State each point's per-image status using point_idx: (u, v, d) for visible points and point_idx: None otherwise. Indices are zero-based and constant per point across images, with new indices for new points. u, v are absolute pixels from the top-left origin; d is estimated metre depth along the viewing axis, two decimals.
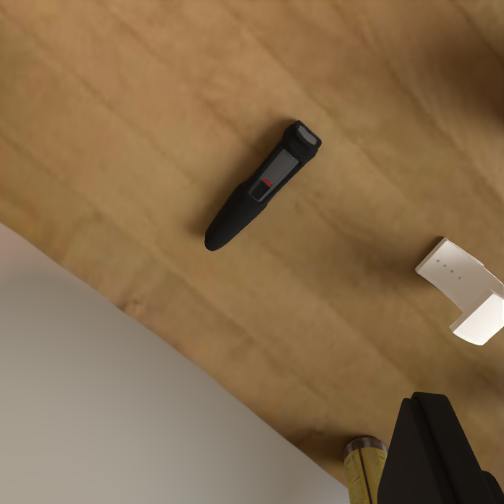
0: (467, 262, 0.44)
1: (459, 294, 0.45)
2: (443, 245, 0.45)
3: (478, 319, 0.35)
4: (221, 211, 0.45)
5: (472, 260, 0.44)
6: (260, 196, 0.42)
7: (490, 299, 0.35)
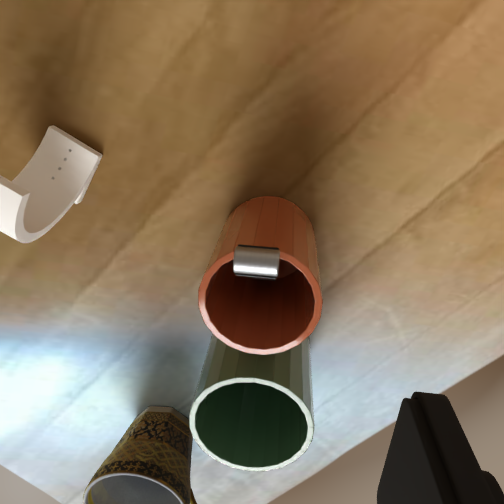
0: (74, 184, 0.36)
1: (30, 181, 0.35)
2: (90, 153, 0.36)
3: None
4: None
5: (78, 189, 0.36)
6: None
7: (13, 194, 0.26)
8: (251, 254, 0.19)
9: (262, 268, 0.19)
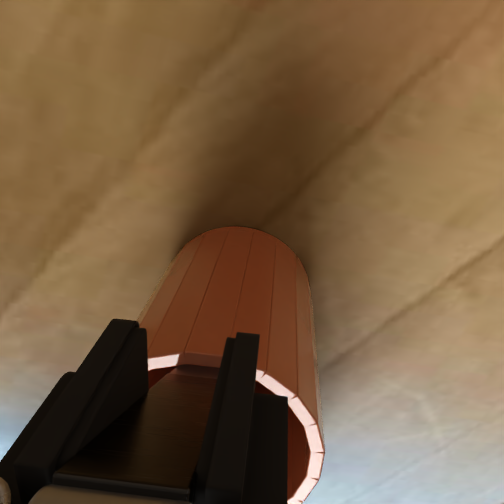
0: None
1: None
2: None
3: None
4: None
5: None
6: None
7: None
8: None
9: None
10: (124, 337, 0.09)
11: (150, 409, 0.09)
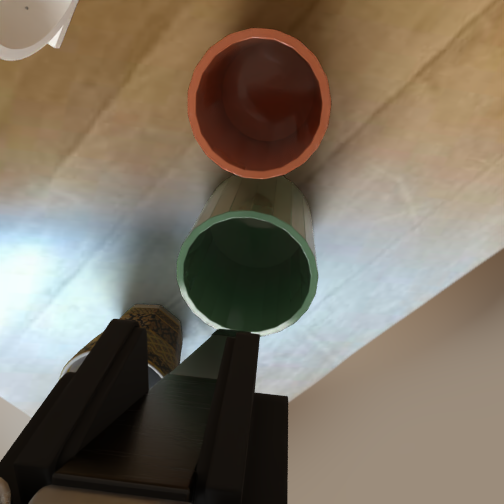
0: (51, 17, 0.32)
1: (0, 7, 0.31)
2: None
3: None
4: None
5: (55, 22, 0.32)
6: None
7: None
8: None
9: None
10: (124, 337, 0.09)
11: (150, 409, 0.09)
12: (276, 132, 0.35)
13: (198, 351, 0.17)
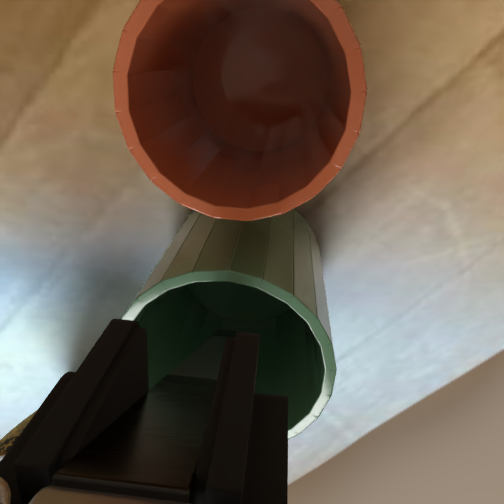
0: None
1: None
2: None
3: None
4: None
5: None
6: None
7: None
8: None
9: None
10: (124, 337, 0.09)
11: (150, 410, 0.09)
12: (272, 139, 0.25)
13: (198, 351, 0.17)
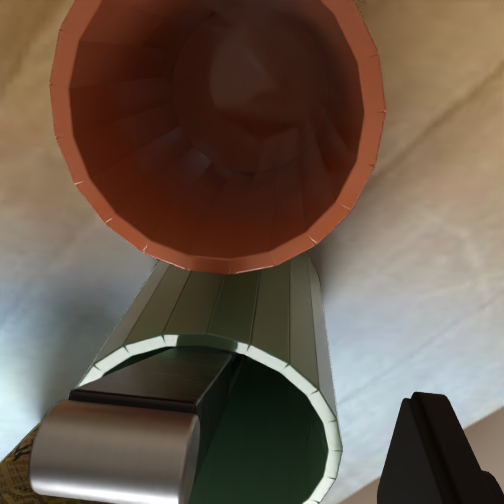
0: None
1: None
2: None
3: None
4: None
5: None
6: None
7: None
8: (92, 442, 0.06)
9: (128, 493, 0.05)
10: None
11: (155, 365, 0.09)
12: (265, 158, 0.21)
13: None
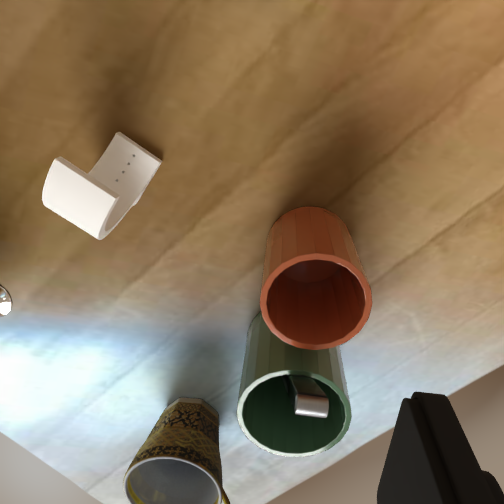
0: (136, 187, 0.39)
1: None
2: (153, 159, 0.39)
3: (78, 187, 0.29)
4: None
5: (139, 191, 0.39)
6: None
7: (107, 196, 0.29)
8: (309, 402, 0.27)
9: (316, 413, 0.27)
10: None
11: (300, 384, 0.31)
12: (313, 276, 0.43)
13: None
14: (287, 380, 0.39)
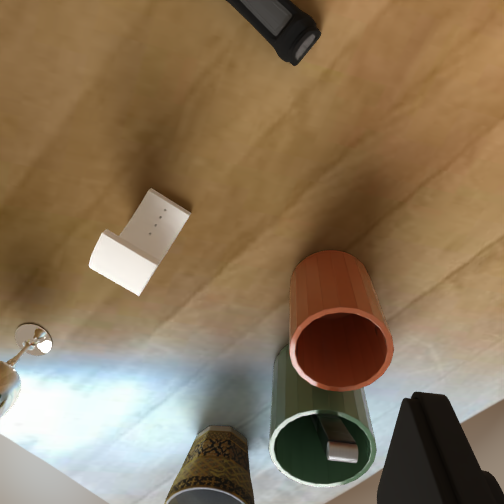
0: (168, 238, 0.42)
1: (132, 236, 0.41)
2: (182, 212, 0.42)
3: (123, 256, 0.32)
4: None
5: (171, 243, 0.42)
6: None
7: (150, 263, 0.32)
8: (340, 450, 0.30)
9: (347, 459, 0.30)
10: None
11: (329, 427, 0.33)
12: (335, 314, 0.45)
13: None
14: (314, 415, 0.41)
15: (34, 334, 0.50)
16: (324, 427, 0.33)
